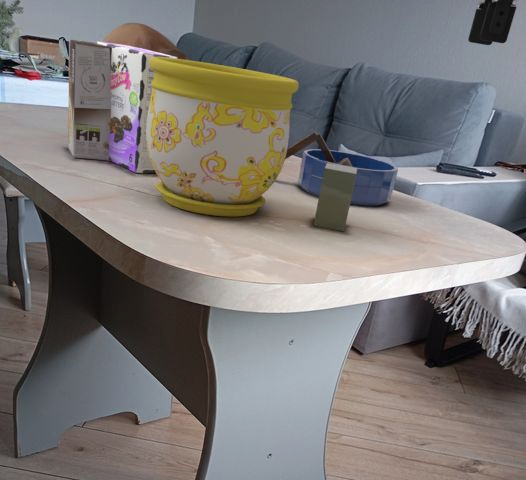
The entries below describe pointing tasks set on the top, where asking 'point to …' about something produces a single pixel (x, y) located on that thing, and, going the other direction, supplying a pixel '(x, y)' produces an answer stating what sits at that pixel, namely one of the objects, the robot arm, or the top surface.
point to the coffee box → (89, 100)
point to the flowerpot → (217, 134)
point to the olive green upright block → (335, 196)
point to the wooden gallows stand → (322, 145)
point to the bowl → (367, 178)
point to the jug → (143, 39)
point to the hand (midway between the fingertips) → (485, 42)
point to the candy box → (130, 106)
